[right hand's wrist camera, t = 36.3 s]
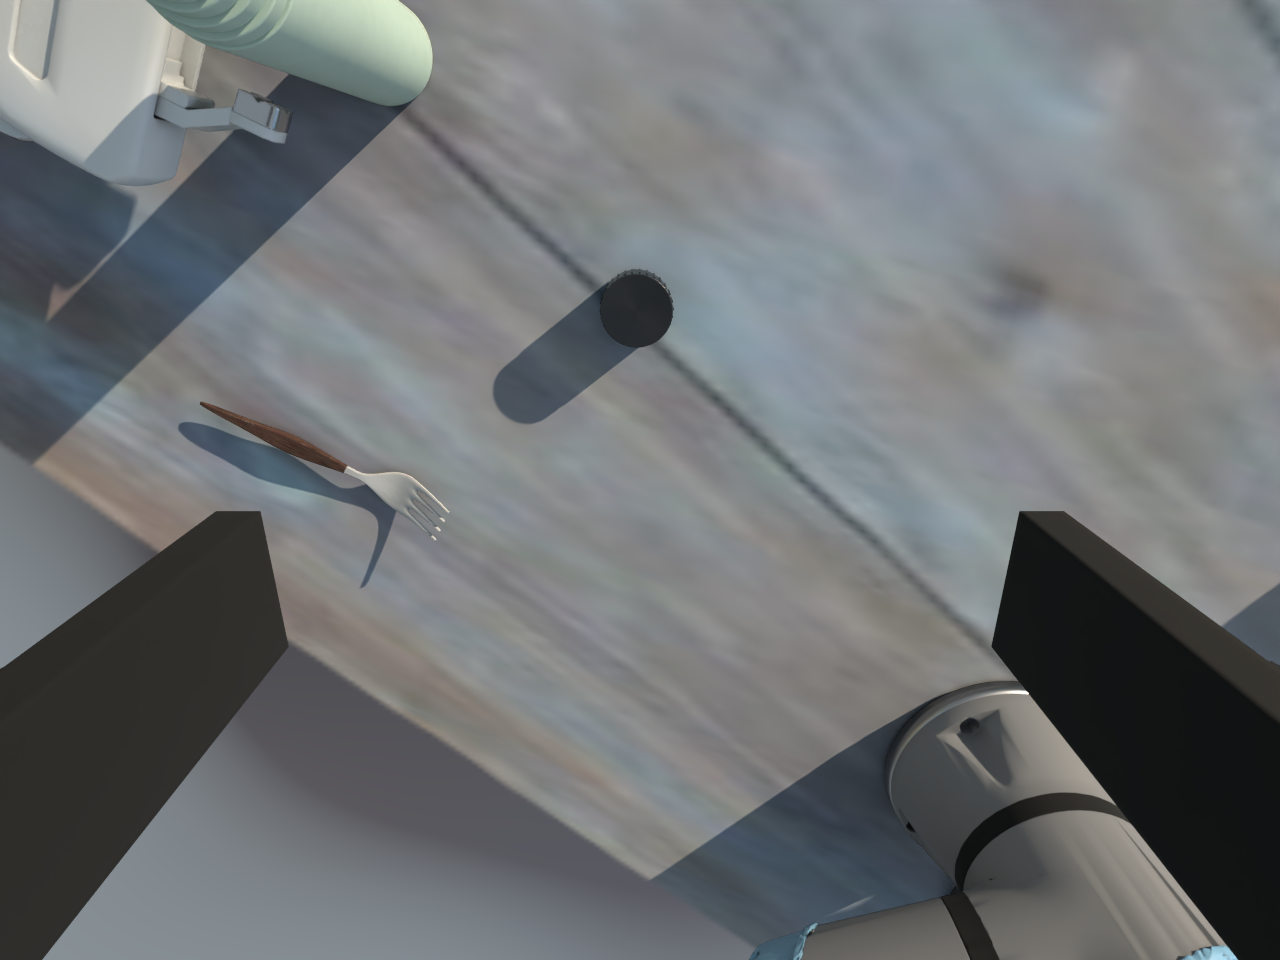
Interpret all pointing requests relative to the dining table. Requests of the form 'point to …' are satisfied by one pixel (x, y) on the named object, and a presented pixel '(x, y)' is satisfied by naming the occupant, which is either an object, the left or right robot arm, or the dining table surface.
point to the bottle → (318, 41)
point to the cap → (636, 308)
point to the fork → (343, 468)
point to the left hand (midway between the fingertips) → (314, 16)
